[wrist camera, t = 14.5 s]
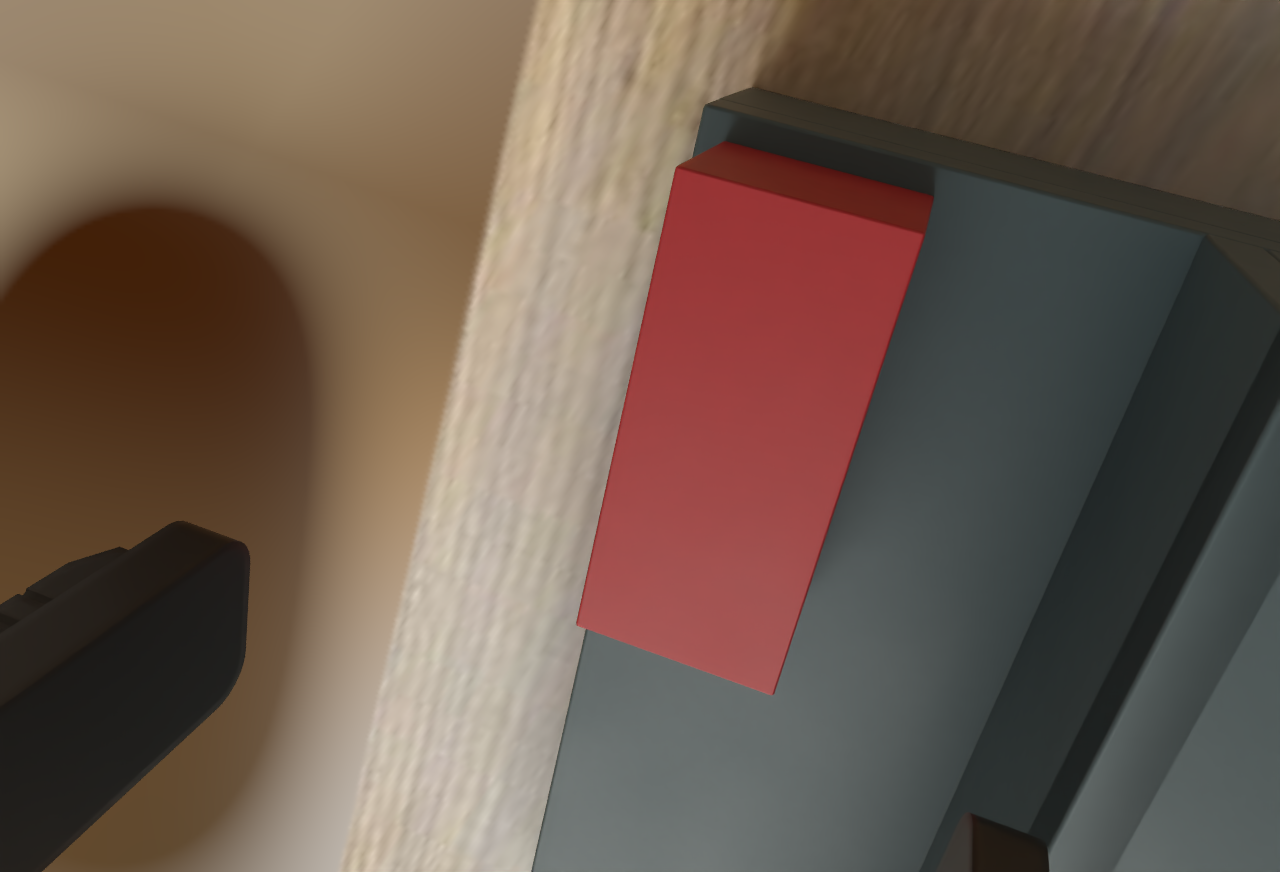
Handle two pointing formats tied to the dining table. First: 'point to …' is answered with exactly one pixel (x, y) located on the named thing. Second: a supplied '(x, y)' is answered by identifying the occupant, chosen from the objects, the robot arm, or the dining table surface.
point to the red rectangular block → (746, 404)
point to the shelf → (994, 557)
